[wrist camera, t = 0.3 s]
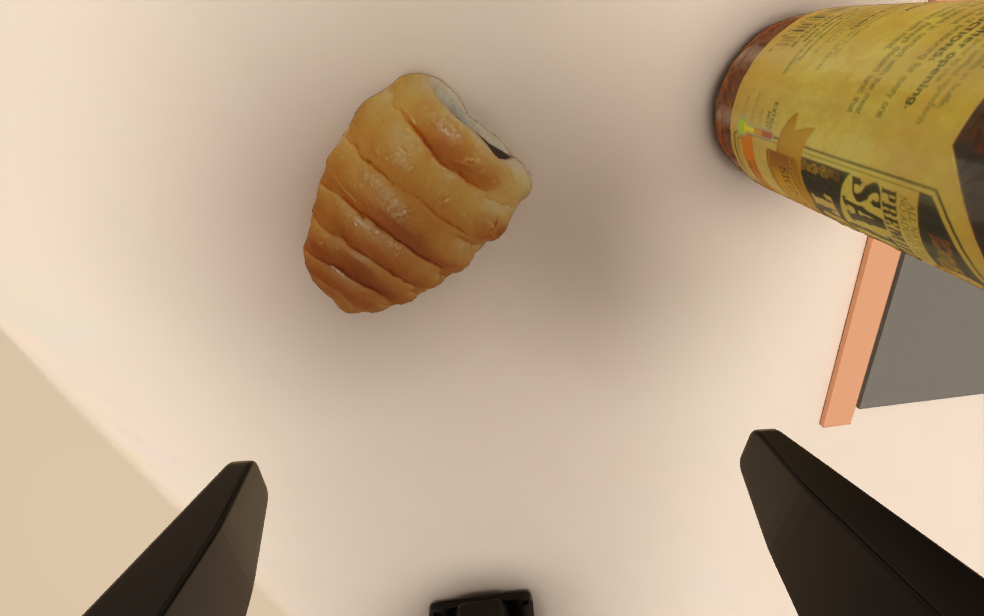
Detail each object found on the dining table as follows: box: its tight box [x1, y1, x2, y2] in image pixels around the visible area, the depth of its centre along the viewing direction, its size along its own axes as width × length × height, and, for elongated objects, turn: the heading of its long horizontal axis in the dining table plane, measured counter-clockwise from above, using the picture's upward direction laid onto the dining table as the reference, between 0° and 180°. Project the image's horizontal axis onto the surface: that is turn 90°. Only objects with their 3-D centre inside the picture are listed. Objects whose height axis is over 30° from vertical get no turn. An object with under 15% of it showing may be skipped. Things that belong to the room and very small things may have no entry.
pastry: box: [304, 73, 532, 313], centre depth 20 cm, size 9×7×4 cm
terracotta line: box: [820, 0, 966, 428], centre depth 22 cm, size 26×2×1 cm, turn 5°
